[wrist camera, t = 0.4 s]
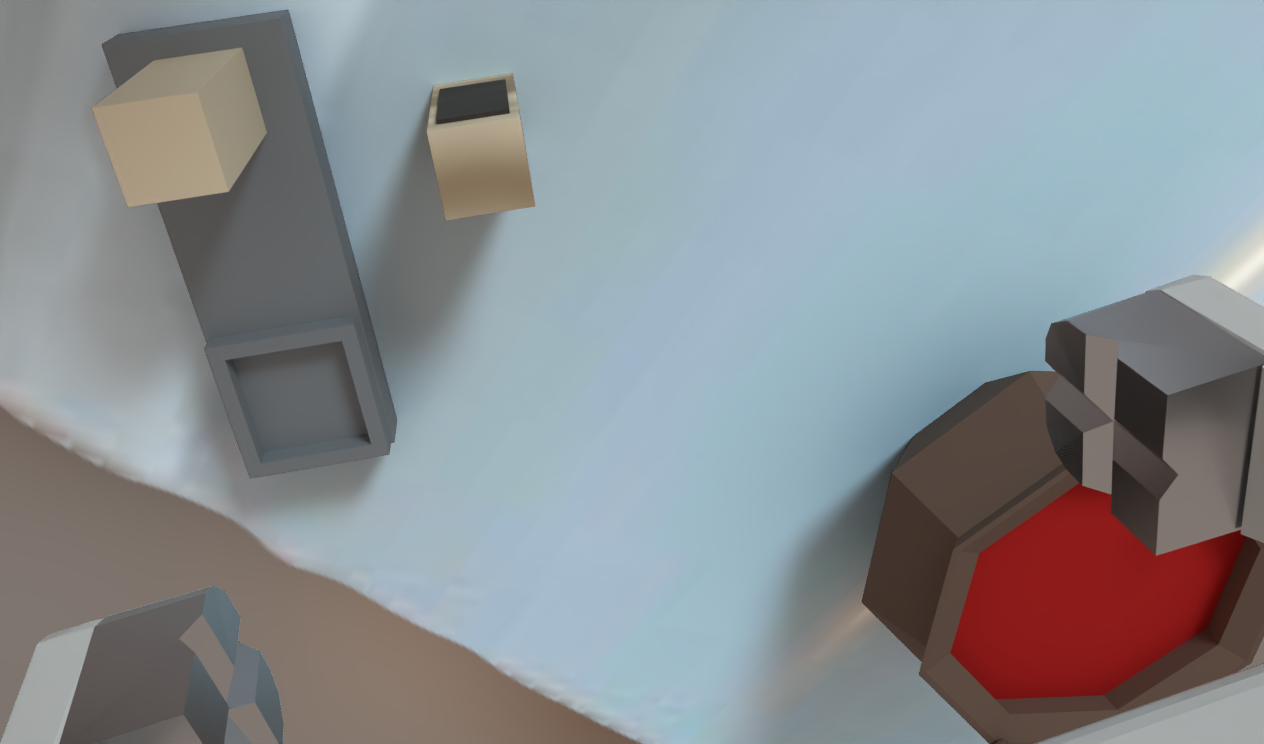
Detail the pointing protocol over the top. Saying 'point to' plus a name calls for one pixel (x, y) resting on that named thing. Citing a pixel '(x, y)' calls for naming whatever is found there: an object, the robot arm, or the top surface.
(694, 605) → the top surface
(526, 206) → the block
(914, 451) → the brown cauldron
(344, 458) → the grey block holder
